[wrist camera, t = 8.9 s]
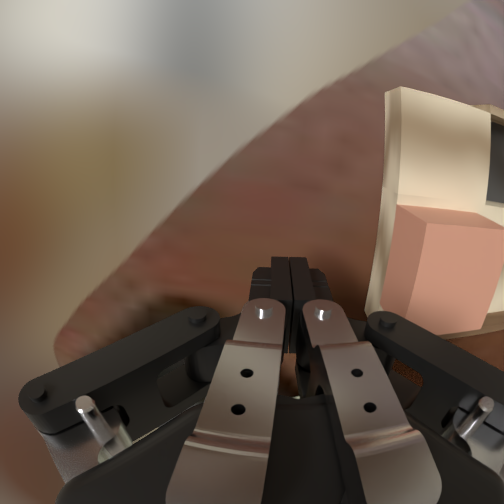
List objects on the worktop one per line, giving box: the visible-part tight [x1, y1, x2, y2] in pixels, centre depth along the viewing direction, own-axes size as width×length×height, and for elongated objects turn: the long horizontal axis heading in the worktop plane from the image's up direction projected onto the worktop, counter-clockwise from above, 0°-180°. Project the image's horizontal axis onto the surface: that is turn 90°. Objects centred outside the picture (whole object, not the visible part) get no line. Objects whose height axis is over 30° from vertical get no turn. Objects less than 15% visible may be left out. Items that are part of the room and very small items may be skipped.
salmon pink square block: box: [380, 204, 504, 335], centre depth 13 cm, size 6×6×4 cm
